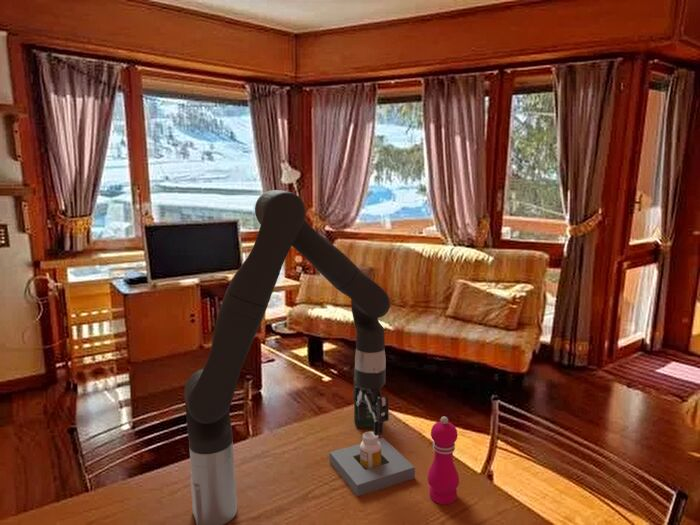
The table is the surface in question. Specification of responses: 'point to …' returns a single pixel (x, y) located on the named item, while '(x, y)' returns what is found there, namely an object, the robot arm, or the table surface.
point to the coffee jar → (369, 420)
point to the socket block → (375, 478)
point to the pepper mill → (443, 463)
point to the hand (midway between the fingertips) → (370, 426)
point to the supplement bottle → (370, 451)
